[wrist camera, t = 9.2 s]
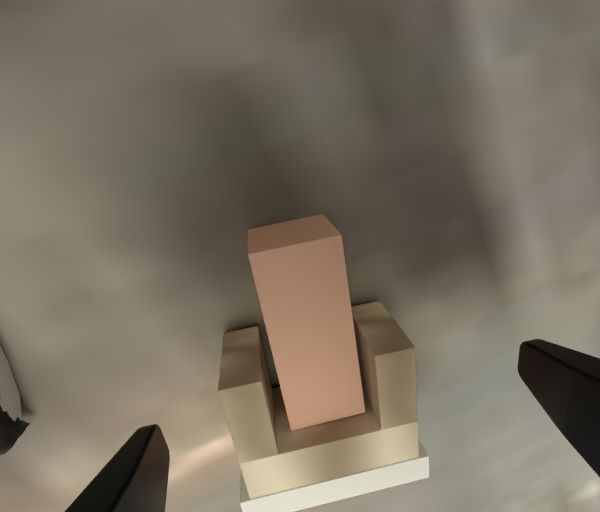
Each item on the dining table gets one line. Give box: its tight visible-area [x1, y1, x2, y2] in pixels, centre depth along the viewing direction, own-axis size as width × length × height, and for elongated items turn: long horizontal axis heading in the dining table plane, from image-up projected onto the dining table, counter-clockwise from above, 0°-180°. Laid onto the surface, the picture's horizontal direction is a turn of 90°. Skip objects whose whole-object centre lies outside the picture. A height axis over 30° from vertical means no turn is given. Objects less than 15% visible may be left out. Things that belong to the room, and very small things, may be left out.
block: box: [218, 301, 419, 499], centre depth 19 cm, size 9×7×5 cm
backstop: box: [240, 438, 429, 512], centre depth 20 cm, size 10×2×5 cm, turn 99°
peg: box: [248, 214, 365, 431], centre depth 18 cm, size 4×10×4 cm, turn 10°
